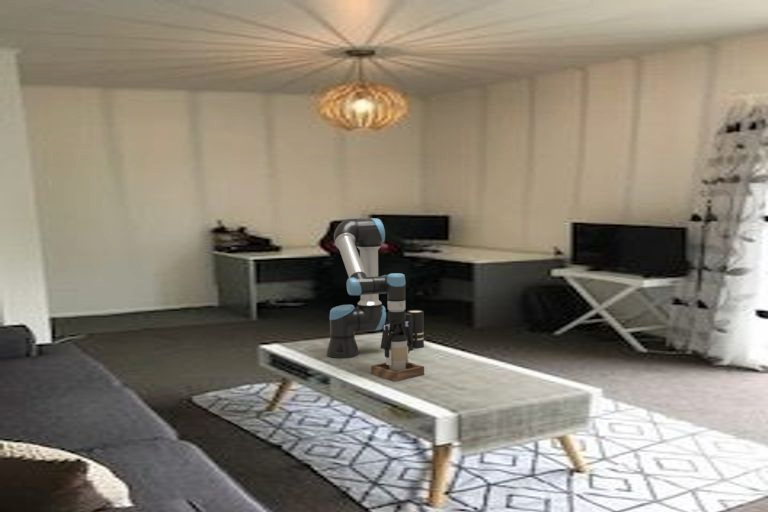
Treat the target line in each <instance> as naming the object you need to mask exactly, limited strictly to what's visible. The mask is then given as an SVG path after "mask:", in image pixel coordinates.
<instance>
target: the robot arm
mask: <svg viewBox="0 0 768 512" xmlns="http://www.w3.org/2000/svg"><path fill="white" fill-rule="evenodd" d="M385 238H386V231H385V227H384V224H383V221H382V220H381V219H379V218H375V217H374V218H373V217H366V218H347V219H345V220H343V221H341V222H340V223H339V224H338V225H337V227H336V229H335V231H334V233H333V241H334V244H335V246H336V248H337V249H338V250H339V253H340V255H341V258H342V261H343V265H344V267H345V270H346V273H347V276H348V278H347V280H346V291H347V294H348V295H349V296H360V300H359V301H358V302H357V306H356V307H355V305H353V304H341V305H338V306H337V305H336V306H334V307H332V308H331V309H330V311H329V336H330V337H329V342H328V345H327V350H326V355H327V356H328V357H330V358H335V359H347V358H353V357H356V356H358V355H359V353H360V352H359V347H358V344H357V341H356V338H355V335H356V333H358V332H360V333H361V332H372V331H373V332H374V331H381V330H382V336H381V342H380V349H382V350H384V358H385V363H386V365H390V366H391V365H392V361H391V350H390V347H391V339H392V338H393V336H394V335H395V334H396V333H397V332H399V333H400V334H402V335H403V334H405V336H406V337H407V339H408V340H407V357H406V362H409V354H410V351H409V347H410V346H411V344H413V338H412V333H411V322H408V321H406V322H405V319H406V313H407V312H406V285H407V284H406V276H405V274H403V273H399V272H398V273H397V272H396V273H394V272H393V273H392V272H391V273H389V274H384V275H381V276H379V249H380V248H381V247H382V244H383V243H385V241H386V239H385ZM357 248H358V249H357ZM358 250H359V251H358ZM380 294H381V295H382V294H383V295H384V294H387V310H388V311H387V312H386V307H385V306H384V305H382V304H383V303H382V301H381V300H379V298H380V297H379V295H380ZM386 319H387V320H388V323H387V324H386ZM385 324H386V325H385ZM404 326H405V329H404ZM405 331H406V333H405ZM387 346H388V347H387Z"/></svg>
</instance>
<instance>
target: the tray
mask: <svg viewBox="0 0 768 512" xmlns="http://www.w3.org/2000/svg"><path fill="white" fill-rule="evenodd" d="M370 374H372V375H374V376H377V377H380V378H383V379H386V380H389V381H392V382H398V381H403V380H408V379H412V378H416V377H420V376H424V375H425V366H424V365H420V364H416V363H414V362H409V361H408V362H406V367H405V370H401V371H394V370H390V367H389V365H386V362H382V363H378V364H373V365H371V366H370Z"/></svg>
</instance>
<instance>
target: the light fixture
mask: <svg viewBox="0 0 768 512" xmlns="http://www.w3.org/2000/svg"><path fill="white" fill-rule="evenodd" d="M424 313H425V312H424V310H421V309H409V310H407V312H406V319H405V322H406V321H408V322H411V333H412V338H413V344H411V346H410V347H409V352H412V351H414V349H421V348H424V347H425V337H424V336H425V335H424V334H425V333H424V332H425V331H424V330H425V329H424V327H425V324H424V323H425V321H424V318H425V317H424ZM404 329H405V326H404ZM397 333H399V332H397ZM405 333H406V331H405Z"/></svg>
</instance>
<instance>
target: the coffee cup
mask: <svg viewBox="0 0 768 512" xmlns="http://www.w3.org/2000/svg"><path fill="white" fill-rule="evenodd" d="M407 340H408V339H407V337H406V336H405V334H403V335H402V334H400V333H396V334H395V335H394V336H393V338H392V339H391V347H390V350H391V361H392V365H391V366H390V365H389V367H390V370H394V371H401V370H405V367H406V357H407ZM387 347H388V346H387Z"/></svg>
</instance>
